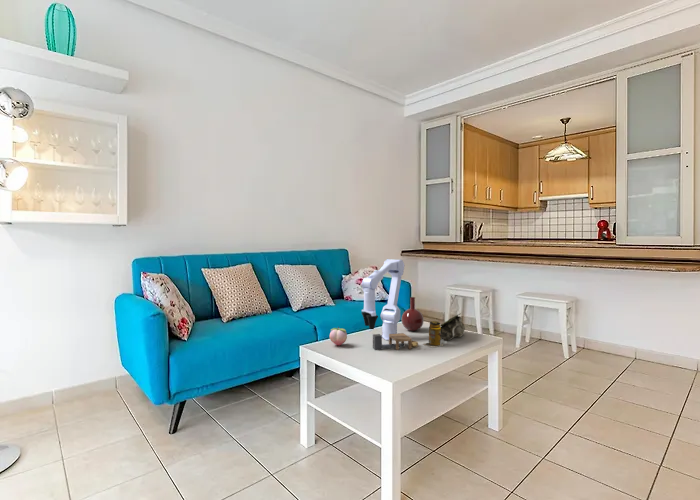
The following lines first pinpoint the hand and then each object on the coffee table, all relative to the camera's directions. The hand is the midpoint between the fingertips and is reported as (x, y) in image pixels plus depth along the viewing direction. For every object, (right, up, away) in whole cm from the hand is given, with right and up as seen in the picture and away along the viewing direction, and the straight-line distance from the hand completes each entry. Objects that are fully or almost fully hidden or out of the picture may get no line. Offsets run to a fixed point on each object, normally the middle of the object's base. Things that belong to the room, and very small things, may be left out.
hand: (369, 327), depth 198 cm
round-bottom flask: (+28, -9, +33) cm, 44 cm away
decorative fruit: (-16, -10, +2) cm, 19 cm away
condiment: (+33, -10, +3) cm, 35 cm away
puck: (+23, -10, +1) cm, 25 cm away
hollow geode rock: (+45, -9, +18) cm, 50 cm away
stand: (+16, -10, 0) cm, 19 cm away
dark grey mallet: (+10, -10, -2) cm, 14 cm away
